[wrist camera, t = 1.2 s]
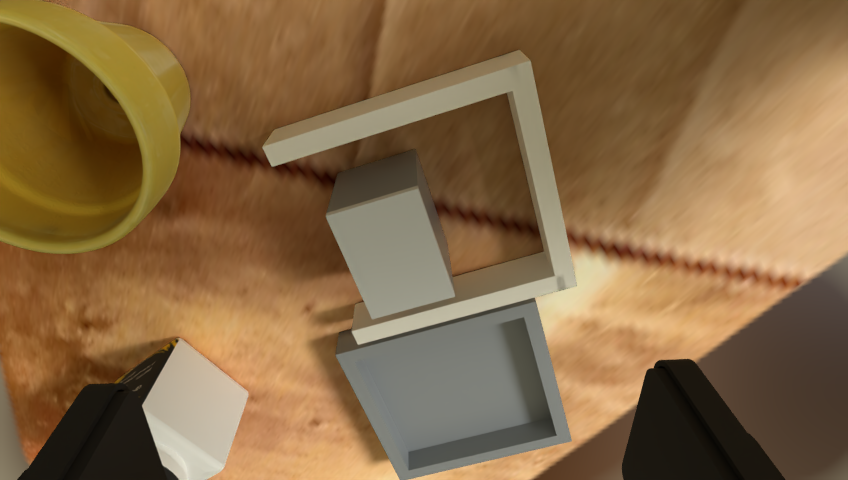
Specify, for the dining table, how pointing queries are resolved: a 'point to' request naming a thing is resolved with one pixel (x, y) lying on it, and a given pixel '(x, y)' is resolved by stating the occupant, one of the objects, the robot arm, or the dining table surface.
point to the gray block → (391, 235)
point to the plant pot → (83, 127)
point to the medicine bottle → (188, 409)
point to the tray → (458, 390)
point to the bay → (518, 82)
